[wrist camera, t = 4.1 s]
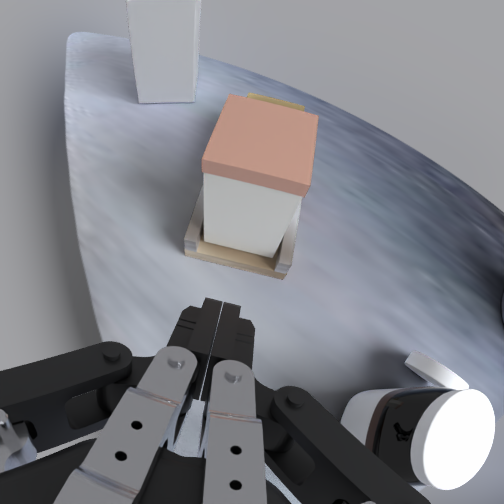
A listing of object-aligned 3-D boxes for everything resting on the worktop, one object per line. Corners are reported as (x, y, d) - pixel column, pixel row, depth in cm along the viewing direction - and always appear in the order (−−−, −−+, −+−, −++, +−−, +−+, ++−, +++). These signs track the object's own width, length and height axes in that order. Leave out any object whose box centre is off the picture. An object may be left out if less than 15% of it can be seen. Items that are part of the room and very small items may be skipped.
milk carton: (138, 105, 35) (123, -32, 18) (148, 73, 38) (141, -47, 21) (194, 104, 36) (199, -37, 19) (198, 73, 39) (205, -50, 22)
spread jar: (319, 466, 22) (386, 506, 12) (341, 345, 27) (416, 317, 16) (427, 462, 23) (510, 477, 12) (441, 358, 28) (526, 335, 17)
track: (232, 119, 36) (237, 84, 31) (306, 137, 36) (319, 104, 31) (185, 255, 28) (180, 227, 23) (282, 279, 29) (298, 256, 24)
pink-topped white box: (220, 184, 30) (229, 93, 20) (284, 200, 30) (318, 115, 20) (202, 242, 27) (201, 159, 17) (273, 259, 27) (310, 185, 17)
